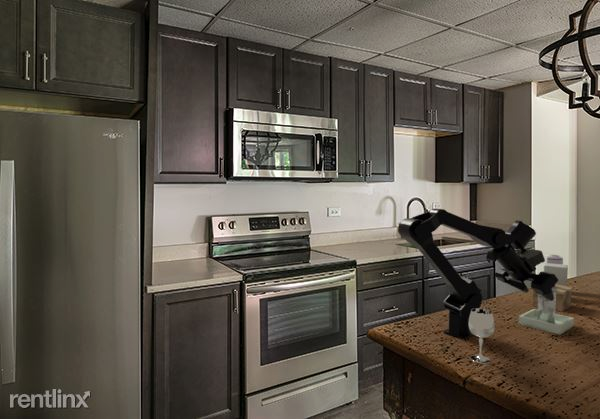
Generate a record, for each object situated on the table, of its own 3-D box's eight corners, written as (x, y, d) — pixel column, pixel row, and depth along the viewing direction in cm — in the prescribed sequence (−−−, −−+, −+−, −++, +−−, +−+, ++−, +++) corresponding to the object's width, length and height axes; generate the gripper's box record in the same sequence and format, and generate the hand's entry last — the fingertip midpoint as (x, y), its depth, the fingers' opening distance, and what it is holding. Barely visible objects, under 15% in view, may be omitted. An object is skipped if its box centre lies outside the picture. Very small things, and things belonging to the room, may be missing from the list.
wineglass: (463, 359, 95) (464, 311, 95) (473, 352, 100) (474, 306, 99) (488, 367, 91) (489, 316, 91) (497, 359, 95) (498, 311, 95)
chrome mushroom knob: (547, 327, 116) (549, 290, 115) (532, 321, 121) (533, 286, 120) (560, 324, 118) (561, 288, 117) (544, 319, 122) (545, 284, 122)
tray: (560, 334, 111) (560, 326, 111) (518, 324, 120) (518, 316, 120) (573, 325, 118) (574, 317, 118) (533, 316, 127) (533, 308, 127)
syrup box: (562, 293, 154) (564, 257, 153) (545, 292, 156) (546, 256, 155) (559, 290, 159) (560, 254, 158) (542, 288, 161) (543, 254, 160)
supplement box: (565, 302, 143) (567, 267, 142) (542, 298, 147) (543, 265, 147) (567, 297, 149) (568, 264, 148) (544, 294, 153) (545, 262, 153)
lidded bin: (562, 312, 131) (563, 289, 131) (531, 305, 139) (531, 283, 139) (572, 306, 138) (573, 284, 137) (541, 300, 145) (542, 279, 145)
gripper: (554, 245, 107) (584, 283, 110) (504, 236, 125) (531, 270, 128) (529, 274, 105) (560, 312, 109) (481, 261, 124) (509, 294, 127)
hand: (539, 295), depth 118 cm, fingers open, 9 cm apart
